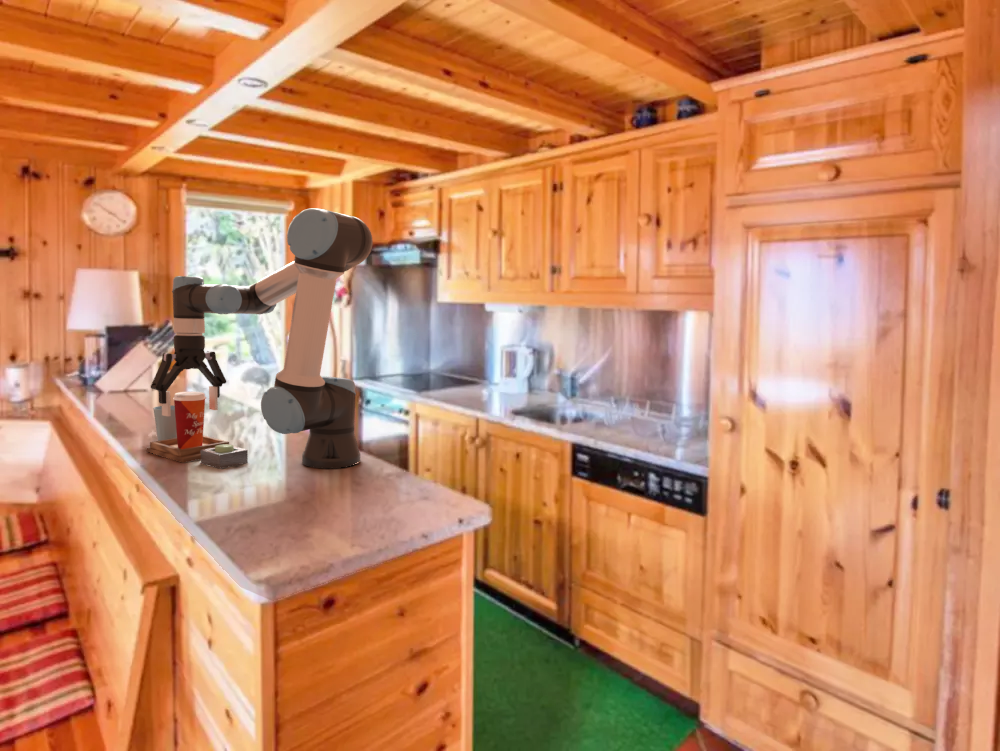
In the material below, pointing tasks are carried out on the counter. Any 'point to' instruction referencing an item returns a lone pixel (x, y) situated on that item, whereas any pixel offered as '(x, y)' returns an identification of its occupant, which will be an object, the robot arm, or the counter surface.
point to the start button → (224, 448)
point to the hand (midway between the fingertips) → (190, 412)
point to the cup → (165, 424)
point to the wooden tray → (182, 455)
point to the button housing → (224, 457)
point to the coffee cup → (189, 418)
